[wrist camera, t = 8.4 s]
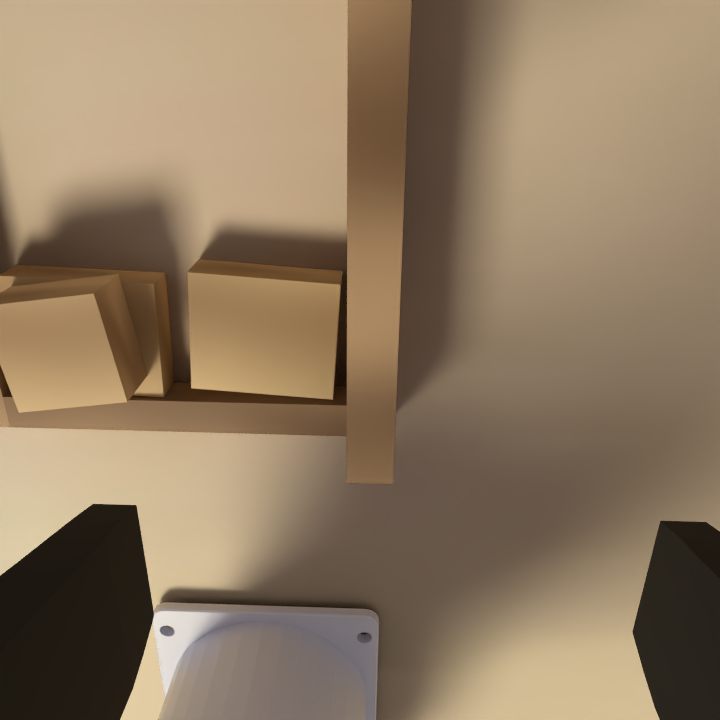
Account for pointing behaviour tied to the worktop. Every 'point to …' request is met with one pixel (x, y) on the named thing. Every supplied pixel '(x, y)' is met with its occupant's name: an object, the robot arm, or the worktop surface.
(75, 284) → the offcut
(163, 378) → the offcut
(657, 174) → the worktop surface
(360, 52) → the wooden tray
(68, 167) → the worktop surface
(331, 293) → the offcut
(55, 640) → the robot arm
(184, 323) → the worktop surface
